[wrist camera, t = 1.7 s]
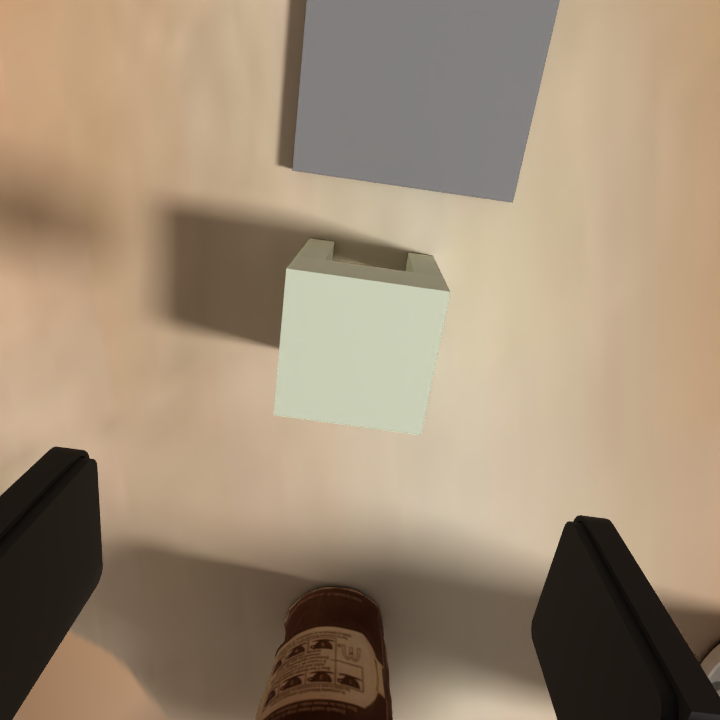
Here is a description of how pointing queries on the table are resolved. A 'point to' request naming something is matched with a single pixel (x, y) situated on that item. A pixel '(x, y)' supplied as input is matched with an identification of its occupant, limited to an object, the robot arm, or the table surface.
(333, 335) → the notched sage block
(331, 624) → the coffee cup
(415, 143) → the felt pad
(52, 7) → the table surface
